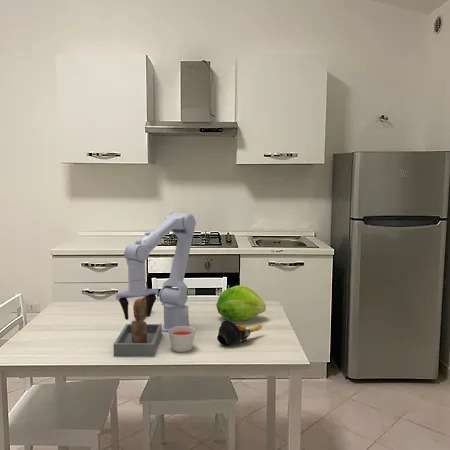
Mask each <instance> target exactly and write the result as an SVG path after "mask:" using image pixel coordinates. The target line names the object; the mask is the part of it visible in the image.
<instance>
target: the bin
mask: <svg viewBox="0 0 450 450" xmlns="http://www.w3.org/2000/svg"><path fill="white" fill-rule="evenodd" d="M162 328H163V324H162V323H156V324H155V323H147V343H133V342H132V325H131V323H126V324H125V325H124V327H123V329H122V330H121V331H120V334H119V335H118V336H117V338H116V339H115V341H114V342H113V357H155V355H156V352H157V349H158V347H159V344H160V342H161V338H162V336H163V331H162Z"/></svg>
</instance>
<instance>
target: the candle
mask: <svg viewBox="0 0 450 450" xmlns="http://www.w3.org/2000/svg"><path fill="white" fill-rule="evenodd" d="M195 335H196V329H195V328H194V327H192V326H189V325H188V326H177V327H173V328H171V329H169V331H168V336H169V340H170V346H171V350H172V351H173V352H177V353H178V352H179V353H185V352H190V351H191V350H192V349H193V345H194V340H195Z"/></svg>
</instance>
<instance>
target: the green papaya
mask: <svg viewBox="0 0 450 450" xmlns="http://www.w3.org/2000/svg"><path fill="white" fill-rule="evenodd" d="M215 307H216V309H217V312H218V314H219V315H221V317H223V318H224V319H225V320H229V321H240V322H241V321H248V320H250V319H252V318H254V317H256V316H258V315H259V314H262V313H265V312H266V310H267V304H266V303H265V302H264V300H263V299H262V298H261V297H260V295H258V294H257V292H255V291H254V290H253V289H251V288H249V286H246V285H235V286H232V287H229V288H226V289H224V290H223V291H222V292H221V294H219V296H218V299H217V302H216V304H215Z"/></svg>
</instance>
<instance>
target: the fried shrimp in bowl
mask: <svg viewBox="0 0 450 450" xmlns="http://www.w3.org/2000/svg"><path fill="white" fill-rule="evenodd" d="M262 328H263V326H262V325H260V324H259V325H257V326H254V327H251V328H247V325H244V326H243V325H239V324H236V323H235V322H234V321H232V320H228V319H225V320H223V321H222V322H221V323H220V326H219V328H218V333H217V337H216V339H217V341H218V342H219V344H221V345H222V346H226V345H233V344H235V343H239V344H241V343H245V342H246V341H248V338H249V337H250V335H251V333H253V332H256V331H257V332H258V331H259V330H261V329H262Z"/></svg>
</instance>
